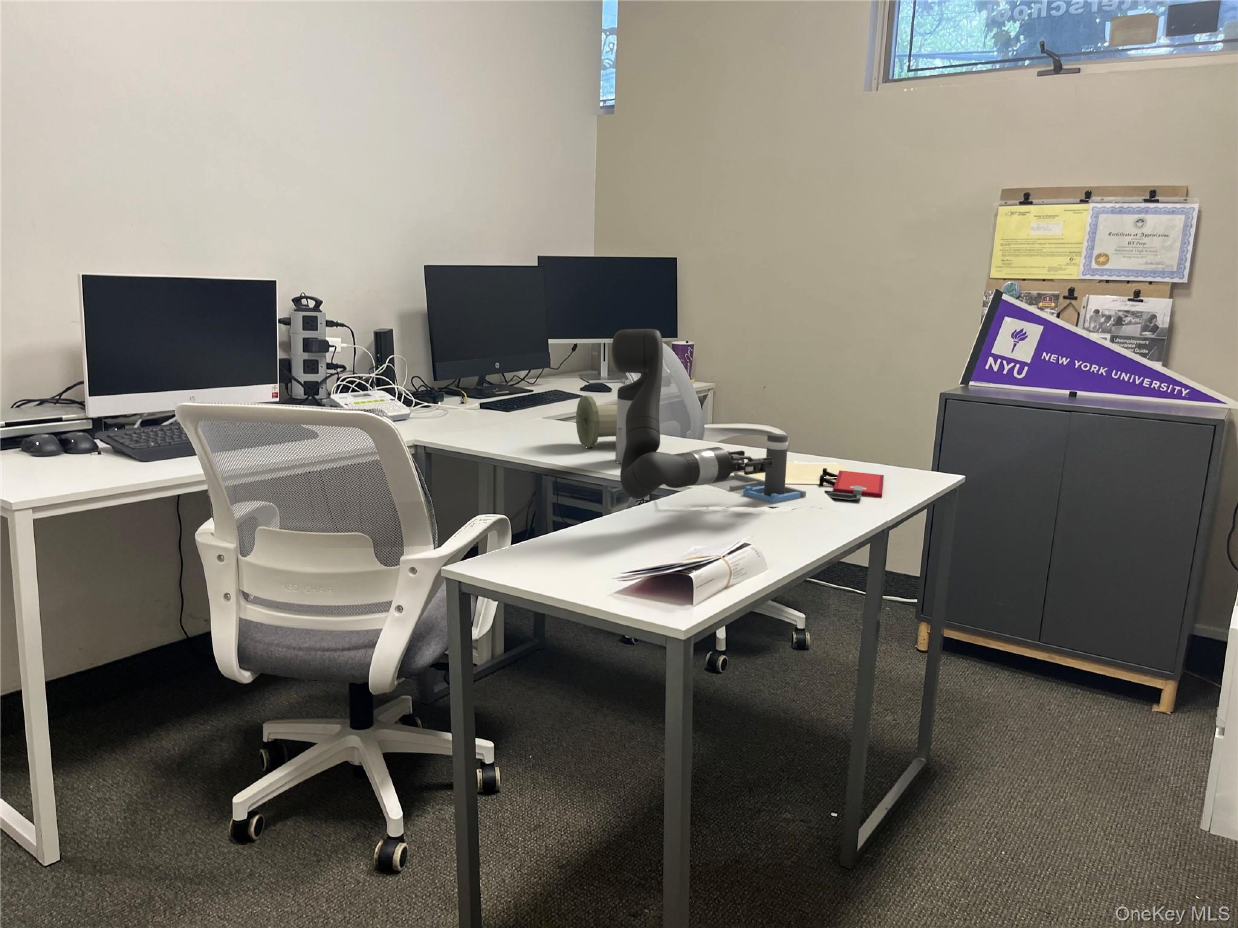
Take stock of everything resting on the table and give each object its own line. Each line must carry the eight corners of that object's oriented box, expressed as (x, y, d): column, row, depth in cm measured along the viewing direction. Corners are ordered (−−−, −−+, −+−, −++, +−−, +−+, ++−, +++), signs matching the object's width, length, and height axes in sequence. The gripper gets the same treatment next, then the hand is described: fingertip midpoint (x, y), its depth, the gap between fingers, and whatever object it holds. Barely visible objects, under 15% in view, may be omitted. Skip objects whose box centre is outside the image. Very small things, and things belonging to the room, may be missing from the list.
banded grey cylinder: (766, 498, 201) (769, 437, 198) (761, 493, 206) (765, 433, 203) (786, 498, 201) (790, 437, 198) (781, 493, 206) (785, 433, 203)
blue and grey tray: (704, 488, 214) (704, 476, 213) (736, 482, 220) (737, 470, 220) (772, 508, 197) (773, 495, 196) (805, 501, 204) (806, 488, 203)
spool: (593, 452, 253) (594, 400, 249) (575, 442, 266) (576, 392, 263) (646, 449, 259) (648, 398, 256) (626, 439, 272) (627, 391, 269)
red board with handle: (814, 499, 206) (881, 507, 202) (815, 487, 206) (882, 495, 202) (824, 474, 235) (883, 480, 230) (825, 463, 234) (884, 469, 230)
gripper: (729, 454, 181) (782, 447, 191) (682, 443, 192) (735, 436, 202) (727, 490, 183) (780, 481, 193) (680, 477, 194) (733, 469, 203)
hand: (757, 458), depth 197 cm, fingers open, 8 cm apart
